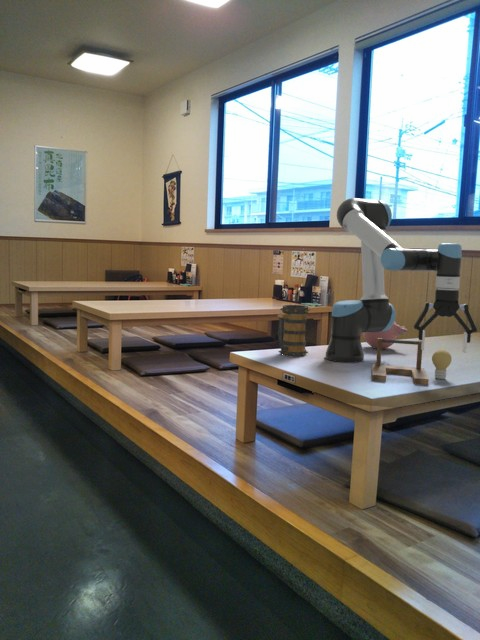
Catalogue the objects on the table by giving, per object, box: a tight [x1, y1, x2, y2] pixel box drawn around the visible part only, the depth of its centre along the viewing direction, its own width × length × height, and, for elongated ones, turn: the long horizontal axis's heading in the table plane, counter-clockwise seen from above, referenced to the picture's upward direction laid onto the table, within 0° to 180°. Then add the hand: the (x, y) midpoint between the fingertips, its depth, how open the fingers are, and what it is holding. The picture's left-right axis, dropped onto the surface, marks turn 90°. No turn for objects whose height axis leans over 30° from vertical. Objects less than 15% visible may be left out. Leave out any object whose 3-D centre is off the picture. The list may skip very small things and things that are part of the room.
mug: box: [276, 304, 311, 358], centre depth 221 cm, size 13×17×20 cm
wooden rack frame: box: [371, 338, 430, 386], centre depth 188 cm, size 18×18×12 cm
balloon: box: [362, 321, 409, 350], centre depth 241 cm, size 15×20×15 cm
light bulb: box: [431, 349, 453, 380], centre depth 187 cm, size 6×6×10 cm
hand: (443, 350), depth 186 cm, fingers open, 13 cm apart
